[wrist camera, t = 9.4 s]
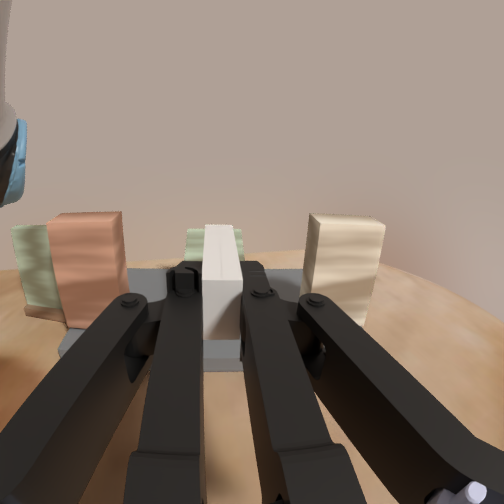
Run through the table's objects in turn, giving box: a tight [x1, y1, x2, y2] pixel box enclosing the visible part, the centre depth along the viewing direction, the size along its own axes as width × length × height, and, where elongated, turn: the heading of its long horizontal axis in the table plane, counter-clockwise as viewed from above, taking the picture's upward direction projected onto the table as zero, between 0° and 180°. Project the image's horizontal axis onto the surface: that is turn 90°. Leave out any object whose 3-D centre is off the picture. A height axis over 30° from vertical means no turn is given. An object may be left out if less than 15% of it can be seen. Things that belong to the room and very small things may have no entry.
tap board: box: [58, 268, 364, 372], centre depth 32 cm, size 17×28×2 cm, turn 97°
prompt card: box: [11, 225, 66, 322], centre depth 27 cm, size 6×3×10 cm, turn 92°
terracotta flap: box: [46, 211, 130, 329], centre depth 25 cm, size 3×6×10 cm, turn 97°
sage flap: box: [184, 229, 245, 261], centre depth 32 cm, size 3×6×10 cm
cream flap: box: [299, 213, 386, 326], centre depth 27 cm, size 3×6×10 cm, turn 97°
